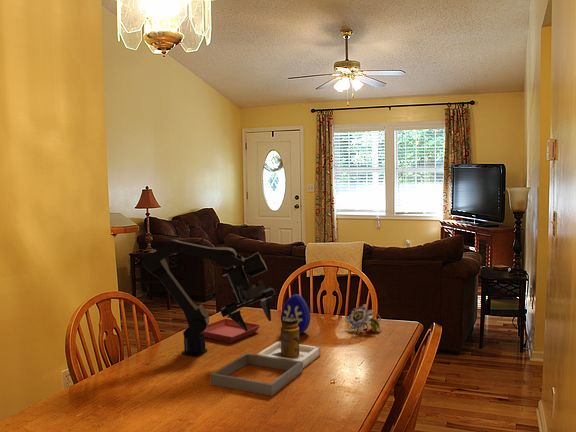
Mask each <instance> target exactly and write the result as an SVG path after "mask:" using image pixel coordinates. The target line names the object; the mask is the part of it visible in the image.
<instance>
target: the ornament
mask: <svg viewBox="0 0 576 432" xmlns="http://www.w3.org/2000/svg"><path fill="white" fill-rule="evenodd" d="M310 311H311V310H310V308H309V306H308V304H307V302H306V300H305V299H304V297H303V296H302V295H300V294H298V293H295V294H293V295H292V294H291V296H289V297H288V299H287V300H286V301H285V302H284V305H283V308H282V310H281V313H280V314H281V315H280V322H281V324H282V320H283V319H284V318H296V319H297V320H298V327H299V334H302V333H304V332H306V330H308V328H309V326H310V325H311V324H310V323H311V312H310Z"/></svg>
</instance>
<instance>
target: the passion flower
mask: <svg viewBox="0 0 576 432" xmlns="http://www.w3.org/2000/svg"><path fill="white" fill-rule="evenodd" d="M366 309H367V305H366V303H364V304H362V306H358V307H354V308H353V309H352V310H351V311H350V314H349V315H348V318H345V319H344V322H345V323H349V324H350V325H351V326H350V329H351V330H354V331H353V332H354V333H357V332H358V331H359V329H360V331H362V332H363V331H364V330H365V326H366V328H369V327H368V325H370V327H371V328H372V330H373V333H375V334H377V333H378V330H380V328H381V327H380V322H378V321H377V320H376V319H374V318H375V317H378V319H379V321H381V320H382V319H381V318H382V317H380V315H379V314H376V315H372V314H373V312H374V309H368V310H366Z"/></svg>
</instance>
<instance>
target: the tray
mask: <svg viewBox="0 0 576 432" xmlns="http://www.w3.org/2000/svg"><path fill="white" fill-rule="evenodd" d="M279 352H281V341H279V340H278V341H276V342H274V343H273V344H271V345H270V346H268V347H266V348H265V349H263V350H261V351H260V352H258V353H256V354H255V355H262V356H268V357H275V358H281V359H287V360H294V361H300V362H303V369H304V368H305V367H307V366H308V365H309V364H310V363H312V362H313V361H314V360H315V359H317V358H318V357H319V356H321V346H314V345H306V344H300V343H299V353H300V354H302V355H305V356H302V357H298V358H294V359H292V358H286V357H279V356H273V355H271V354H274V353H279Z"/></svg>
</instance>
